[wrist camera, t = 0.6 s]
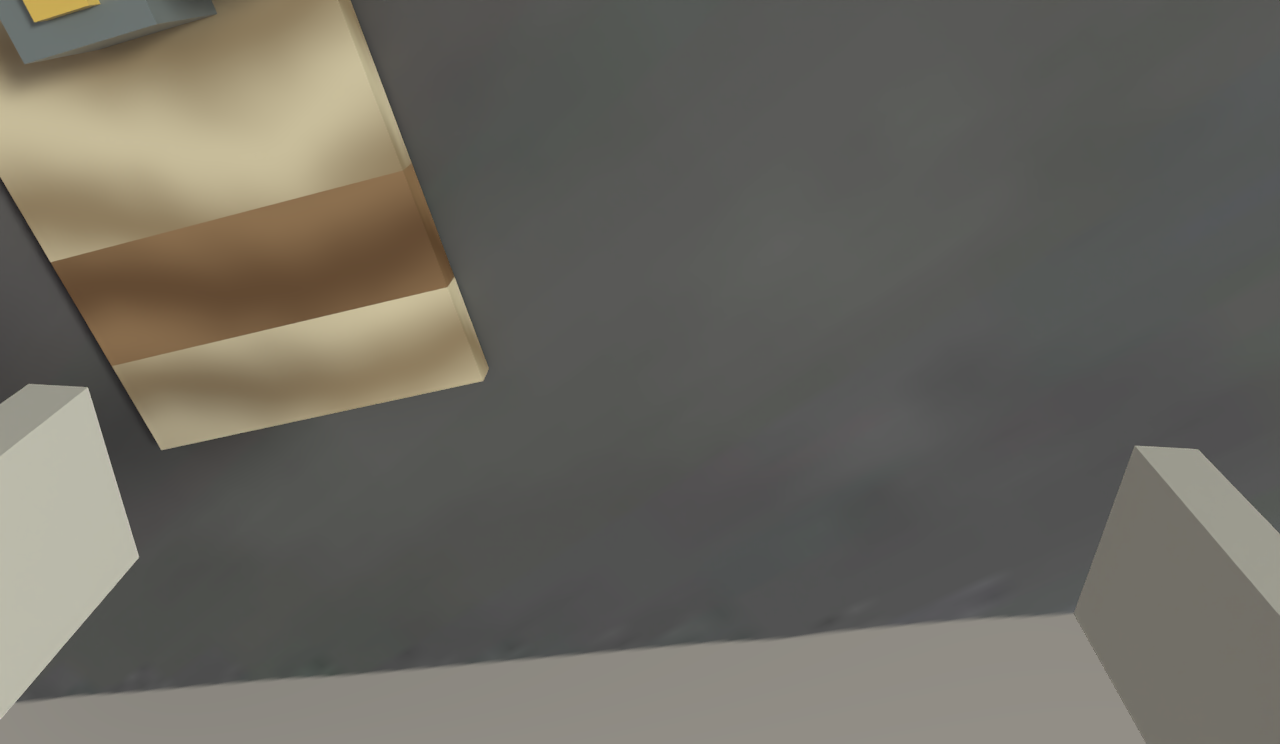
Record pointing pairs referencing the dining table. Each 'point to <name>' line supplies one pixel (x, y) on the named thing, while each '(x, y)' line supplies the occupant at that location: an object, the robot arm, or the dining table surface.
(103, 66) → the board
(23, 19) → the block
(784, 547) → the dining table surface
